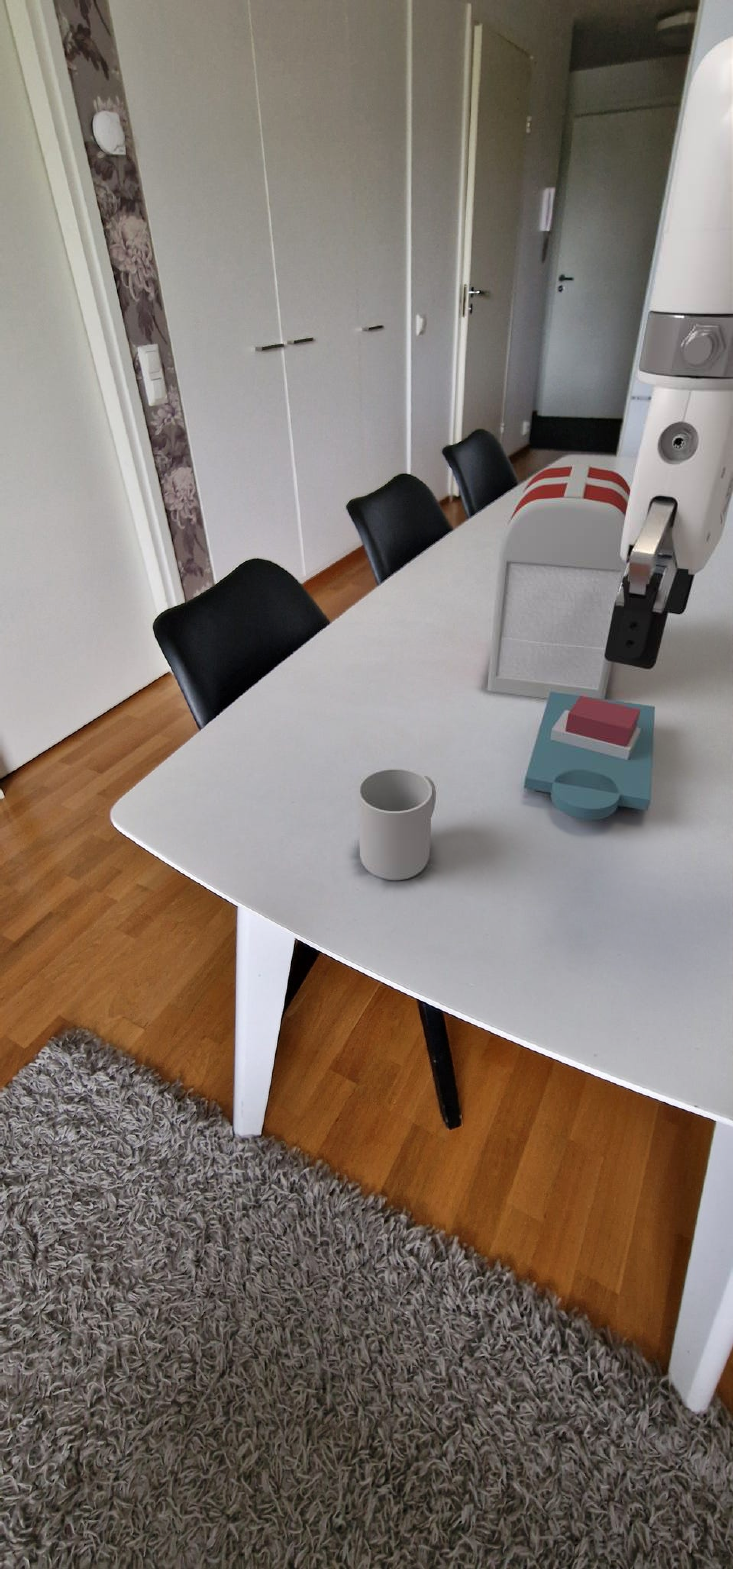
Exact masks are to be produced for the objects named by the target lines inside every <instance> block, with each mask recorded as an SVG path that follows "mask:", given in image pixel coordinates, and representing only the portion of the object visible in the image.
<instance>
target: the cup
mask: <svg viewBox="0 0 733 1569" xmlns="http://www.w3.org/2000/svg"><path fill="white" fill-rule="evenodd" d="M356 793H357V816H358V817H357V818H358V820H357V821H358V841H359V843H358V844H359V857H360V861H361V864H362V865H363V867H364V868H365V869H366V870H367V871H368V872H369V873H370V874H372V875H373V876H375V877H377V878H380V879H382V880H387V881H401V880H407V879H410V878H413V877H415V876H416V875H418V874H419V873H421V872H422V871H423V870H424V869H425V867H426V866H427V865H428V863H429V860H430V852H431V830H432V829H431V828H432V827H431V826H432V817H433V814H434V811H435V807H436V802H437V801H436V799H437V790H436V785H435V783H434V781H433V780H432V779H431V777H428V776H427V775H423V774H421V773H419V772H417V771H414V770H411V769H409V768H408V769H407V768H401V767H388V768H383V769H378V770H375V771H372V772H371V773H369V774H367V775H365V777H363V778H362V779H361V780H360V782H359V784H358V785H357V791H356Z"/></svg>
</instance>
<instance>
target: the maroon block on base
mask: <svg viewBox="0 0 733 1569" xmlns="http://www.w3.org/2000/svg"><path fill="white" fill-rule="evenodd" d="M640 711H641V710H640V709H635V708H631V707H627V706H623V705H618V704H614V703H610V702H606V701H602V700H597V699H593V698H589V697H585V696H580V697H579V698H578V700H577V701H576V703H575V704H574V706H573V707H572V709H571V710H570V711H568V710H565V711H564V713H563V714H562V716H561V717H560V718H559V720H558V721H557V723H556V724H555V726H554V727H553V729H552V733H551V740H554V741H558V742H561V743H565V744H569V745H573V746H576V747H580V748H584V749H587V750H591V751H595V752H599V753H602V754H606V755H610V756H613V757H617V758H621V759H625V760H628V759H629V757H630V755H631V753H632V751H633V749H634V747H635V745H636V743H637V741H638V739H639V735H640V731H641V729H640V728H636V727H637V723H638V719H639V715H640Z"/></svg>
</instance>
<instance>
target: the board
mask: <svg viewBox="0 0 733 1569" xmlns="http://www.w3.org/2000/svg"><path fill="white" fill-rule="evenodd" d="M579 697H580V696H578V695H571V694H564V693H557V692H550V694H549V697H548V699H547V701H546V705H545V708H544V711H543V715H542V718H541V722H540V726H539V729H538V732H537V735H536V739H535V742H534V746H533V749H532V753H531V756H530V760H529V762H528V767H527V771H526V773H525V777H524V783H523V788H524V789H526V790H533V791H534V792H538V793H544V794H548V795H549V794H550V798H551V802H552V803H553V805H554V807H556V808H557V809H558V810H559V811H560V812H562V813H564V814H565V815H568V816H570V817H572V818H576V819H581V820H586V821H587V820H588V821H591V820H592V821H593V820H594V821H596V820H603V819H605V818H607V817H610V816H611V815H613V814H614V813H615V812H616V811H617V809H618V807H621V808H626V809H631V810H634V809H636V810H640V811H641V810H642V811H648V809H649V805H650V802H651V791H652V790H651V788H652V769H653V752H654V751H653V750H654V733H655V731H654V730H655V714H656V713H655V711H656V707H655V705H647V704H640V703H633V702H626V701H621V700H619V701H618V700H611V699H606V698H605V699H599V698H593V699H597V700H602V701H606V702H610V703H614V704H618V705H623V706H627V707H631V708H635V709H640V710H641V711H640V715H639V719H638V723H637V727H636V728H640V729H641V731H640V735H639V739H638V741H637V743H636V745H635V747H634V749H633V751H632V753H631V755H630V757H629V759H628V760H625V759H621V758H617V757H613V756H610V755H606V754H602V753H599V752H595V751H591V750H587V749H584V748H580V747H576V746H573V745H569V744H565V743H561V742H558V741H554V740H551V733H552V729H553V727H554V726H555V724H556V723H557V721H558V720H559V718H560V717H561V716H562V714H563V713H564V711H565V710H568V711H570V710H571V709H572V707H573V706H574V704H575V703H576V701H577V700H578V698H579ZM589 698H592V697H589Z"/></svg>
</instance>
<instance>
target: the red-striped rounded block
mask: <svg viewBox="0 0 733 1569" xmlns="http://www.w3.org/2000/svg"><path fill="white" fill-rule="evenodd" d="M630 490H631V486H630V485H629V484H628V482H627V480H626V479H625V478H624V477H623V476H622V475H621V474H619V473H618V472H616V471H614V470H611V469H605V468H598V467H594V466H590V464H577V463H573V465H570V466H559V467H557V466H556V467H548V468H545V469H543V470H542V471H539V472H538V473H537V474H536V475H535V476H533V478H532V479H531V480H530V481H529V482H528V483H527V485H526V486H525V488H524V489H523V491H522V494H521V495H520V497H519V498H518V500H517V501H516V504H515V505H514V507H513V510H512V512H511V514H510V516H509V519H508V522H507V526H506V527H505V530H504V533H503V535H502V538H501V543H500V548H499V557H498V567H497V575H496V576H497V578H496V588H495V600H494V611H493V620H492V621H493V622H492V633H491V643H490V644H491V645H490V655H489V666H488V675H487V676H488V677H487V687H486V690H487V691H488V692H491V693H498V694H499V693H500V694H505V695H516V696H522V697H531V698H540V699H547V700H548V697H549V694H550V692H557V693H564V694H571V695H578V696H585V697H592V698H599V699H606V698H605V697H606V693H607V688H608V683H609V679H610V674H611V669H612V665H613V662H611V661H608V660H606V659H605V656H604V654H605V649H606V644H607V639H608V634H609V629H610V624H611V619H612V613H613V608H614V603H615V601H616V599H617V595H618V591H619V588H620V585H621V582H622V579H623V576H624V573H625V570H626V567H627V564H626V563H625V562H624V561H623V560H622V558H621V556H620V549H621V541H622V534H623V528H624V522H625V516H626V511H627V506H628V501H629V496H630Z"/></svg>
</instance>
